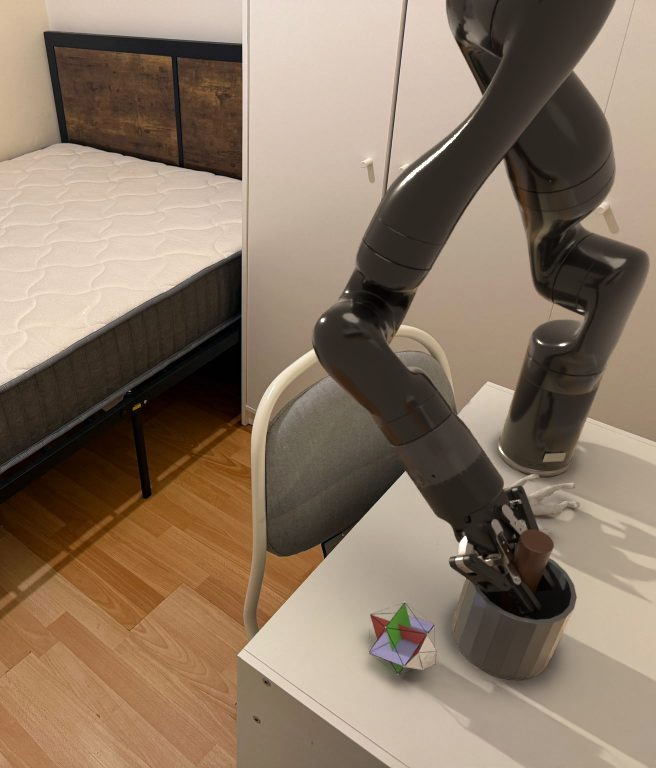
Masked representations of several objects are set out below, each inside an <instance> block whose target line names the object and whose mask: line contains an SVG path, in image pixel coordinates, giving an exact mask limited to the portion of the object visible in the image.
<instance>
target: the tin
mask: <svg viewBox="0 0 656 768" xmlns="http://www.w3.org/2000/svg"><path fill="white" fill-rule="evenodd" d="M493 554H500V553H499V552H497V553H492V554H490V555H493ZM497 567H498V568H499V570H500V572H501V574H503V573H505V571H504V569H503V567H502V566H500V565H498V566H497ZM545 568H546V570H547V571H548V572H549V574H550V576H551V579H552V580H553V582H554V583H555V586H554V588H553V589H552V591H545V592H537V591H536V592H535V594H534V596H535V597H536V599H537V600H538V602H539V603H540V605H541V606H542V608H541V610H540V612H539V613H538V614H526V616H525V618H522V617H518V616H516V615H513V614H511V613H508V612H506V611H504V610H502V609H501V608H499V607H498V606H496V602H497V599H498V596H499V594H500V591H498V592H484V591H483V590H482V589H480V588H479V587H477V586H476V585H475V584H473V583H472V582H471V581H469V580H468V579H466V578H465V580H464V583H463V587H462V590H461V592H460V596H459V599H458V603H457V606H456V609H455V612H454V616H453V619H452V627H451V628H452V629H451V631H452V636H453V639H454V642H455V644H456V645H457V648H458V649H459V651H460V652H461V653H462V655H463V656H464V657H465V658H466V659H467V660H468V661H469V662H470V663H471V664H472V665H474V666H475V667H476V668H478V669H480V670H481V671H483V672H485V673H487V674H489V675H490V676H494V677H497V678H501V679H505V680H510V681H511V680H513V681H521V680H527V679H531V678H534V677H536V676H538V675H539V674H540V673H542V672H543V671H544V670H545V669H546V667H547V666H548V665H549V663H550V662H551V660H552V657H553V655H554V653H555V651H556V648H557V646H558V644H559V642H560V640H561V638H562V635H563V634H564V632H565V629H566V627H567V625H568V622H569V621H570V619H571V617H572V615H573V613H574V611H575V607H576V602H577V598H578V597H577V591H576V587H575V584H574V582H573V580H572V579H571V577H570V576H569V574H568V572H567V571H566V570H565V569H564V568H563V567H561V565H560V564H559V563H557V562H556V561H555V560H554V559H552V558H551V557H549V560H548V562H547V565H546V567H545Z"/></svg>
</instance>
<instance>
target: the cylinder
mask: <svg viewBox="0 0 656 768" xmlns="http://www.w3.org/2000/svg"><path fill="white" fill-rule="evenodd" d="M548 535H549V534H545V533H543V532H541V531H538V530H532V529H531V530H526V531H524V532H522V533H521V535H520V538H519V541H518V543H517V546H516V549H515V552H514V559H513V563H514V565H515V567H516V569H517V571H518V572H519V574H520V576H521V580H522V579H523V580H524V581H525V583H526V584H527V585H528V587H529V588H530V590H531V591H532V593H533V594H535V592H536V589H537V587H538V584H539V582H540V580H541V577H542V575H543V572H544V570H545V567H546V565H547V562H548V560H549V558H551V555H552V552H553V550H554V547H555V542H554V540H553V539H552V538H551V536H548ZM496 606H498V607H499V608H501V609H502V610H504V611H506V612H508V613H511V614H513V615H516V616H518V617H522V618H525V616H526V614H522V613H519V612H518V611H517V610H516V609H515V608H514V605H512V603H511V602H510V600H509V599H508V597H507V596H506V594H505V593H504V591H500V594H499V596H498V599H497V602H496Z"/></svg>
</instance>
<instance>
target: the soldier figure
mask: <svg viewBox="0 0 656 768" xmlns="http://www.w3.org/2000/svg"><path fill="white" fill-rule="evenodd" d="M535 479H540V476H539V475H537V474H531V475H530V474H528V475H527V476H525V477H523V478H521V479H519V480H517V481H515V482H514V483H513V484H511V485H510V487H513V486H514V487H515V486H522V487H524V486H525V484H526V483H527V482H536V480H535ZM576 485H577V484H576V483H575V482H568V483H565V482H563V483H559V484H551V485H548V486H543V487H541V488H540V489H539V490H536V491H533V492H532V493H530V494H526V495H527V498H528V501H529V503H530V506H531V509H532V512H533V514H534V516H547V515H560V514H561V513H562V511H563V510H564V509H565V508H567V507H568V508H573V509H578V508H580V506H581V504H580V502H578V501H570V500H563V502H561V503H558V504H553V505H550V504H540V503H541V502H542V501H543V500H545V499H546V498H549V497H551V496H553V495H554V494H555V493H556V492H557V491H560V490H562V489H563V490H574V489H575V488H576V487H577V486H576ZM519 522H520V523H521V524H522V525H523V526H524V528H525V529H526V530H527V527H526V524H525V522H524V521H523V520H519ZM539 531H541V532H543V533H545V534H547V535H548V536H549V537H551V535H552V534H551V533H552V531H550V529H541V528H539Z"/></svg>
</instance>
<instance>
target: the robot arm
mask: <svg viewBox="0 0 656 768" xmlns="http://www.w3.org/2000/svg"><path fill="white" fill-rule="evenodd" d="M616 2H617V0H445V13H446V19H447V24H448V28H449V30H450V32H451V35H452V37H453V39H454V41H455V43H456V45H457V47H458V49H459V51H460V53H461V55H462V57H463V59H464V61H465V62H466V64H467V67H468V69H469V71H470V73H471V74H472V76H473V79H474V80H475V83H476V85H477V87H478V89H479V92H480V93H481V96H482V97H481V98H480V99H479V101H478V103H477V104H476V105H475V106H474V107H473V109H472V110H471V111H470V112H469V114H468V115H466V117H465V118H464V119H463V120H462V121H461V122H460V123H459V124H457V126H456V127H455V128H454V129H453V130H452V131H450V132H449V133H448V134H447V135H445V137H443V138H442V139H441V140H440V141H438V142H437V143H436V144H434V145H433V146H432V147H430V148H429V149H428V150H426V151H425V152H424V153H422V154H421V155H419V157H417V158H416V159H414V161H412V162H411V163H410V164H409V165H408V166H406V167H405V168H404V169H403V170H402V171H401V172H400V174H399V175H398V176H397V177H396V178H395V179H394V180H393V181H392V183H391V184H390V185H389V187H388V188H387V190H386V191H385V193H384V195H383V196H382V198H381V200H380V202H379V203H378V206H377V207H376V210H375V212H374V214H373V216H372V218H371V220H370V222H369V223H368V226H367V228H366V230H365V231H364V233H363V236H362V238H361V240H360V242H359V244H358V247H357V250H356V253H355V257H354V264H355V266H354V268H353V270H352V273H351V275H350V277H349V279H348V281H347V282H346V284H345V286H344V288H343V290H342V292H341V293H340V295H339V297H337V300H336V301H335V302H334V303H333V304H331V306H329V307H328V308H327V309H326V310H325V311H324V312H322V313H321V314H320V315H319V317H318V318H317V319H316V321H315V323H314V325H313V327H312V330H311V343H312V344H311V345H312V348H313V351H314V353H315V356H316V359H317V361H318V362H319V363H320V365H321V367H322V368H323V369H324V371H325V372H326V373H327V374H328V376H329V377H330V378H331V379H332V380H333V381H334V382H335V383H336V384H337V385H338V386H339V387H340V388H342V390H344V391H345V393H347V394H348V396H350V397H351V398H352V399H353V400H354V401H355V402H356V403H357V404H359V405H360V406H361V407H363V408H364V409H365V410H366V411H367V412H368V413H369V415H370V416H371V418H372V419H373V421H374V423H375V425H376V426H377V427H378V429H379V430H380V432H381V433H382V435H383V436H384V438H385V439H386V441H387V442H388V443H389V444H390V446H391V448H392V449H393V451H394V454H395V456H396V457H397V459H398V461H399V463H400V465H401V466H402V468H403V469H404V471H405V473H406V474H407V475H408V477H409V478H410V480H411V481H412V483H413V484H414V486H415V487H416V489H417V490H418V491H419V493H420V495H421V496H422V497H423V499H424V500H425V502H426V504H427V505H428V506H429V508H430V509H431V510H432V512H433V513H434V515H435V516H436V517H437V518H438V519H441V520H442V521H444V522H445V523H447V524H448V525H450V527H451V529H452V531H453V536H454V538H455V540H456V542H457V543H458V548H457V552H456V555H453V556H452V555H451V556H449V558H448V565H449V567H450V568H451V569H452V570H454V571H455V572H456V573H458V574H459V575H461V576H462V577H464V578H465V580H466V579H468V580H469V581H471V582H472V583H473V584H475V585H476V586H477V587H479V588H480V589H482V590H483V591H484V592H498V591H504V593H505V594H506V596H507V597H508V599H509V600H510V602H511V603H512V605H514V608H515V609H516V610H517V611H518V612H519V613H522V614H538V613H539V612H540V610H541V608H542V606H541V605H540V603H539V602H538V600H537V599H536V597H535V596H534V594H533V593H532V591H531V590H530V588H529V587H528V585H527V584H526V583H525V581H524V580H523V579H522V580H521V576H520V574H519V572H518V571H517V569H516V567H515V565H514V563H513V559H514V552H515V549H516V546H517V543H518V541H519V538H520V535H521V533H522V532H524V531H526V529H525V528H524V526H523V525H522V524H521V523H520V522H519V520H521V521H523V523H525V524H526V527H527V530H531V529H532V530H538V531H539V529H540V528H539V526H538V523H537V520H536V516H535V515H534V514H533V512H532V509H531V506H530V503H529V501H528V498H527V495H528V494H527V493H526V490H525V487H524V486H515V487H514V486H513V487H511V486H509V487H505V488H504V486H505V481H504V478H503V476H502V475H501V473H500V472H499V471H498V469H497V468H496V466H495V465H494V463H493V462H492V461H491V459H490V458H489V456H488V454H487V453H486V451H485V450H484V449H483V447H482V446H481V445H480V443H479V441H478V440H477V438H476V437H475V436H474V434H473V432H472V431H471V430H470V428H469V427H468V426H467V425H466V423H465V422H464V421H463V420H462V419H461V418H460V417H459V416H458V414H457V413H456V411H454V409H453V408H452V406H451V405H450V403H449V402H448V401H447V399H446V398H445V396H444V395H443V393H442V392H441V390H440V389H439V387H438V386H437V384H436V383H435V382H434V380H433V379H432V377H430V375H429V374H428V373H427V372H426V371H425V370H424V369H422V368H421V367H418V366H407V365H406V364H405V363H404V362H403V361H402V360H401V359H400V358H399V356H398V355H397V354H396V353H395V352H394V351H393V349H392V348H391V346H390V344H391V343H392V341H393V340H394V338H395V336H396V335H397V333H398V331H399V330H400V328H401V326H402V324H403V322H404V320H405V318H406V316H407V314H408V312H409V310H410V308H411V306H412V303H413V302H414V299H415V296H416V294H417V292H418V291H419V288H420V287H421V285H422V284H423V283H424V281H425V280H426V278H427V277H428V275H429V274H430V272H431V270H432V269H433V267H434V265H435V264H436V262H437V260H438V259H439V257H440V255H441V253H442V251H443V249H445V246H446V244H447V242H448V241H449V239H450V237H451V236H452V234H453V232H454V231H455V229H456V227H457V225H458V223H459V222H460V220H461V219H462V217H463V216H464V214H465V212H466V210H467V209H468V207H469V206H470V204H471V203H472V201H473V200H474V198H476V195H477V194H478V192H479V191H480V190H481V189H482V187H483V186H484V184H485V183H486V182H487V180H488V179H489V178H490V176H491V175H492V174H493V172H494V171H495V170H496V169H497V168H498V166H499V165H500V164H501V162H503V166H504V170H505V173H506V177H507V179H508V183H509V185H510V189H511V192H512V195H513V196H514V199H515V202H516V205H517V209H518V212H519V214H520V218H521V223H522V227H523V231H524V234H525V239H526V244H527V245H526V246H527V253H528V262H529V269H530V277H531V281H532V285H533V288H534V290H535V292H536V293H537V294H538V295H539V296H540V297H541V298H542V299H544V300H545V301H547V302H549V303H551V304H554V305H556V306H558V307H561V308H563V309H565V310H568V311H570V312H573V313H575V314H576V315H579V316H582V317H583V319H574V318H572V319H571V318H559V319H558V318H557V319H552V320H547V321H544V322H542V323H540V324H538V325H537V326H536V327H535V328H534V329H533V330H532V332H531V334H530V337H529V341H528V344H527V347H526V350H525V354H524V356H523V361H522V364H521V368H520V371H519V375H518V378H517V381H516V384H515V388H514V392H513V395H512V398H511V402H510V404H509V407H508V412H507V415H506V418H505V421H504V424H503V428H502V431H501V434H500V436H499V438H498V441H497V445H496V447H497V452H498V455H499V457H501V459H502V460H503V461H504V462H505V463H506V464H507V465H508V466H510V467H512V468H513V469H515V470H516V471H519V472H521V473H524V474H526V475H531V474H537V475H539V477H554V476H555V477H556V476H558V475H561V474H563V473H565V472H566V471H567V470H568V469H569V467H570V465H571V462H572V461H573V460H572V459H573V456H574V453H575V450H576V447H577V445H578V443H579V439H580V438H581V435H582V432H583V429H584V427H585V424H586V421H587V419H588V416H589V414H590V411H591V408H592V406H593V403H594V401H595V399H596V396H597V394H598V390H599V388H600V385H601V382H602V380H603V377H604V375H605V372H606V370H607V367H608V364H609V361H610V359H611V357H612V354H613V352H614V351H615V350H616V348H617V345H618V343H619V342H620V340H621V337H622V335H623V332H624V330H625V328H626V325H627V323H628V320H629V318H630V316H631V314H632V311H633V310H634V307H635V305H636V303H637V301H638V299H639V297H640V295H641V293H642V291H643V288H644V286H645V284H646V282H647V278H648V276H649V273H650V265H651V260H650V256H649V254H648V252H646V250H644V249H642V248H639V247H637V246H634V245H631V244H628V243H625V242H622V241H620V240H616V239H613V238H611V237H607V236H605V235H601V234H598V233H595V232H592V231H590V230H588V229H587V228H585V226H583V225H582V223H581V222H582V221H584V220H585V219H586V218H587V217H589V216H590V215H592V213H594V212H595V211H596V210H597V209H598V208H599V207H600V206H601V205H602V204H603V203H604V201H605V200H606V199H607V198H608V196H609V194H610V193H611V190H612V188H613V186H614V183H615V179H616V172H617V168H616V167H617V166H616V158H615V151H614V143H613V136H612V132H611V127H610V124H609V122H608V120H607V117H606V115H605V113H604V111H603V110H602V108H601V106H600V104H599V102H597V100H596V99H595V97H594V95H592V93H591V92H590V91H589V88H587V86H586V85H585V84H584V82H583V81H582V79H581V78H580V77H579V75H578V74H577V73H576V72H575V71H574V69H575V68H576V67H577V66H578V64H579V63H580V62H581V60H582V58H584V56H585V54H586V53H587V52H588V50H589V49H590V48H591V46H592V45H593V44H594V42H595V40H596V39H597V37H598V36H599V34H600V32H601V31H602V29H603V28H604V25H605V24H606V22H607V20H608V18H609V17H610V15H611V13H612V12H613V9H614V7H615V5H616ZM497 552H499V553H500V554H493V555H490V554H492V553H497ZM498 565H500V566H502V567H503V569H504V571H505V573H503V574H501V572H500V570H499V568H498V567H497V566H498ZM554 586H555V583H554V582H553V580H552V579H551V576H550V574H549V572H548V571H547V570H546V568H545V570H544V572H543V575H542V577H541V580H540V582H539V584H538V587H537V589H536V591H537V592H545V591H552V589H553V588H554Z"/></svg>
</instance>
